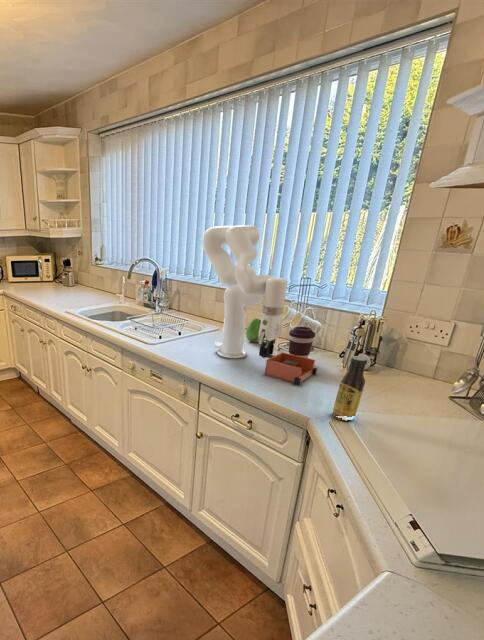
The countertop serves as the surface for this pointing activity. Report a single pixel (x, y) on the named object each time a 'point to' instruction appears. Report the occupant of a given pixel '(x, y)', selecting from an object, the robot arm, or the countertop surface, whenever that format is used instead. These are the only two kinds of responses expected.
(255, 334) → the avocado
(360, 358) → the sauce bottle
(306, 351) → the coffee cup
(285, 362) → the block
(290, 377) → the tub
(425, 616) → the countertop surface
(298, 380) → the wheel axle
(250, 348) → the countertop surface
